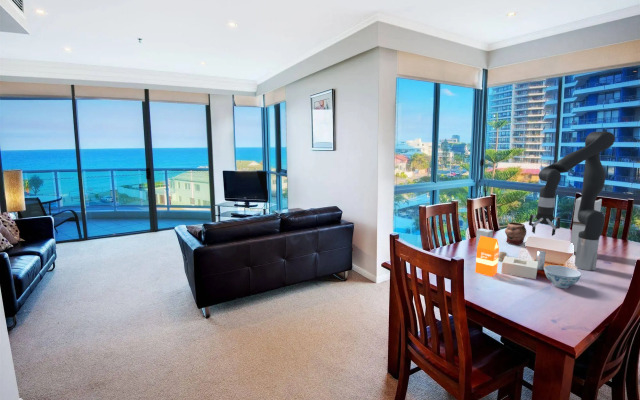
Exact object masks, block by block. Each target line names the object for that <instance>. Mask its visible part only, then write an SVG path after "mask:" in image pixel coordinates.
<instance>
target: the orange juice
mask: <svg viewBox="0 0 640 400" xmlns="http://www.w3.org/2000/svg"><path fill="white" fill-rule="evenodd" d="M499 252H500V247H499V240H498V238H494V237H493V238H489V237H484V236H481V237H480V240H479V243H478V246H477V251H476V258H475V270H474V272H475V274H481V275H484V276H488V277H492V278H493V276H495V275H496V274H497V273H498V266H499Z"/></svg>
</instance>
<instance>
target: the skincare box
mask: <svg viewBox="0 0 640 400" xmlns="http://www.w3.org/2000/svg"><path fill="white" fill-rule="evenodd" d="M475 235H476V238H475V241H476V242H475V252H477V246H478V243H479V240H480V237H481V236H484V237H489V238H494V230H492V229H487V228H482V227H481V228H478V229H476V234H475Z"/></svg>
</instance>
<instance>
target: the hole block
mask: <svg viewBox="0 0 640 400" xmlns="http://www.w3.org/2000/svg"><path fill="white" fill-rule="evenodd" d="M501 263H502V264H501V271H500V272H501V274H506V275H510V276H511V275H512V276H517V277H521V278H527V279H533V280H536V279H537V273H538V270H537V266H538V261H536V260H531V259H525V258H518V257H513V256H505V257H504V260H503V262H501Z"/></svg>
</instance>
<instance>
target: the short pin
mask: <svg viewBox="0 0 640 400" xmlns="http://www.w3.org/2000/svg"><path fill="white" fill-rule="evenodd" d="M507 254H508V253H507V252H505V251H499V255H498V262H500V263H502V262H503V260H504V257H505V256H507Z"/></svg>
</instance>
